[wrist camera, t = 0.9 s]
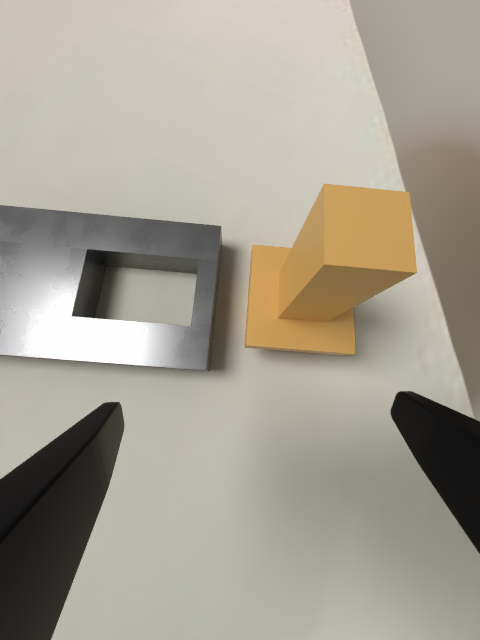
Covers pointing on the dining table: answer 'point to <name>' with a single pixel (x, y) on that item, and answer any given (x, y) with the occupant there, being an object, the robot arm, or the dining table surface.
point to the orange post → (329, 271)
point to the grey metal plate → (85, 283)
